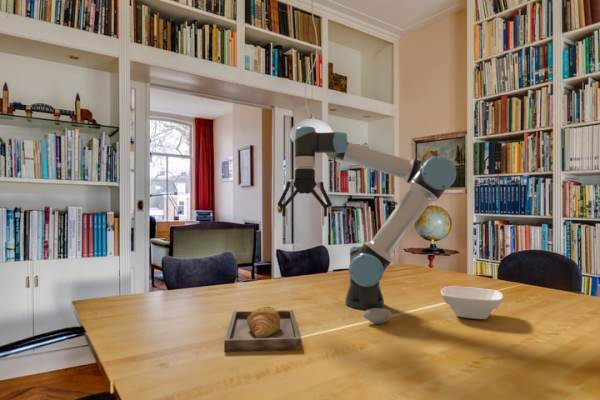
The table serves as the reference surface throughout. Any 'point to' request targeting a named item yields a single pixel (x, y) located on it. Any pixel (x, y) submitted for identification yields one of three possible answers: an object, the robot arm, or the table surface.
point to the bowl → (471, 301)
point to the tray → (245, 340)
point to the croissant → (264, 322)
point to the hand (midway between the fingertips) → (304, 225)
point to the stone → (377, 315)
